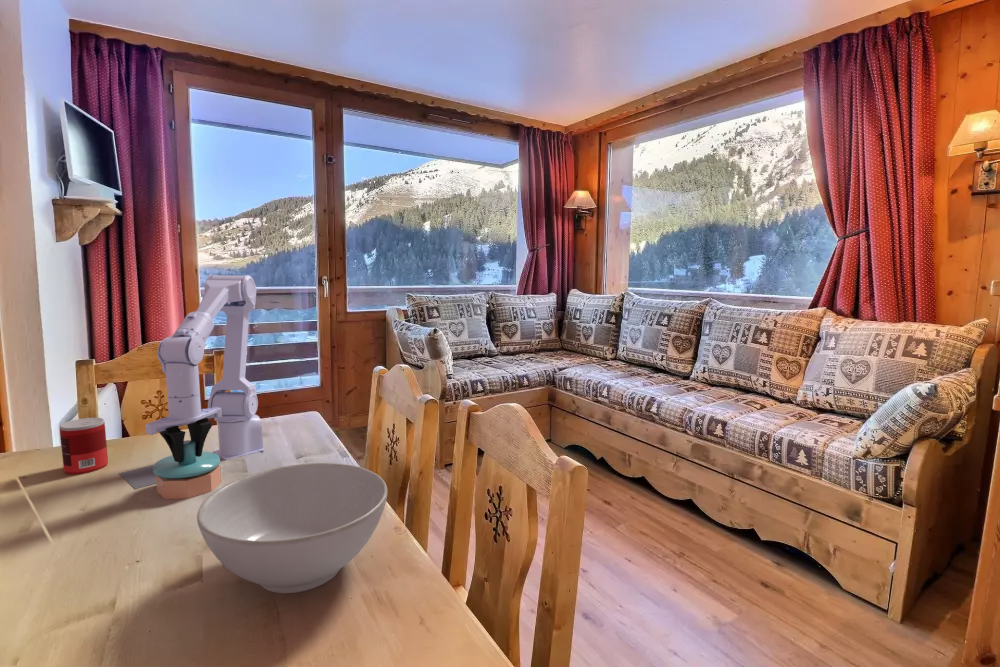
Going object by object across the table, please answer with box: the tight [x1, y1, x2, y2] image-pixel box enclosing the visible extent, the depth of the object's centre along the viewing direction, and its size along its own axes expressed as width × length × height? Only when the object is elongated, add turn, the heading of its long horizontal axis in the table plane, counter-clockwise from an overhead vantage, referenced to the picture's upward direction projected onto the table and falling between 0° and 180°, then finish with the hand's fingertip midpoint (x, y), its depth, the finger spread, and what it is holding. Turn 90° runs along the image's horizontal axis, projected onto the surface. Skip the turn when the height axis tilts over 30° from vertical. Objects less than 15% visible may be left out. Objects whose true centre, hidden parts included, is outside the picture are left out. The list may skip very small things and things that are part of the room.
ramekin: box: [156, 464, 222, 500], centre depth 109 cm, size 11×11×4 cm
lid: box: [152, 439, 221, 478], centre depth 108 cm, size 12×12×5 cm
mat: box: [118, 464, 157, 490], centre depth 116 cm, size 12×12×1 cm
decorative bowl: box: [196, 462, 389, 594], centre depth 80 cm, size 27×27×12 cm
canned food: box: [59, 417, 109, 476], centre depth 117 cm, size 8×8×11 cm
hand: (188, 458), depth 108 cm, fingers closed on lid, 3 cm apart
